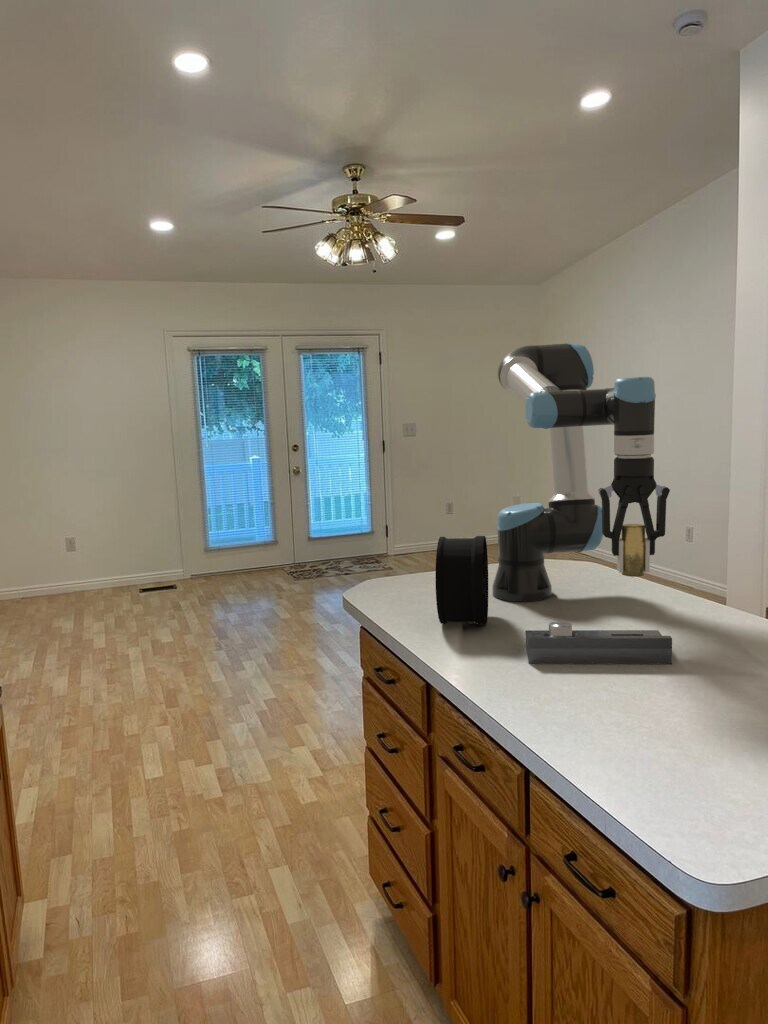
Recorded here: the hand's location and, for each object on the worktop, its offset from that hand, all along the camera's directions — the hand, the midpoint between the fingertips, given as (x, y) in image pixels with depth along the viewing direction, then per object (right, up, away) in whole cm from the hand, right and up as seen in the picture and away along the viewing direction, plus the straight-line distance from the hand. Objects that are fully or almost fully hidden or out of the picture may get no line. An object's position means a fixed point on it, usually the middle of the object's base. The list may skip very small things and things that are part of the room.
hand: (632, 570), depth 143 cm
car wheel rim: (-32, -14, +19) cm, 40 cm away
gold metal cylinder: (0, -1, 0) cm, 1 cm away
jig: (-9, -16, -6) cm, 19 cm away
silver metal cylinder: (-16, -16, -5) cm, 23 cm away
